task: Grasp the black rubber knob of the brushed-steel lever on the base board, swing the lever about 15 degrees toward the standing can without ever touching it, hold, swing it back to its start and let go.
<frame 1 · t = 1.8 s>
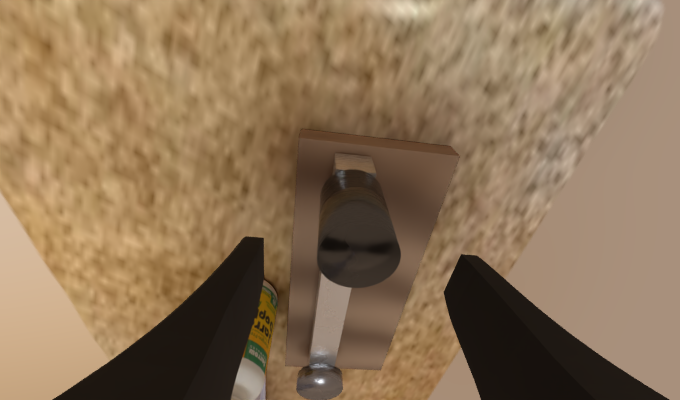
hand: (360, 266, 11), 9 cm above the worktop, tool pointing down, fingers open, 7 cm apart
base board: (350, 271, 23), on the worktop
supplement bottle: (247, 293, 24), on the worktop
lever: (332, 324, 18), point 5 cm above the worktop, hinge at 0.0°
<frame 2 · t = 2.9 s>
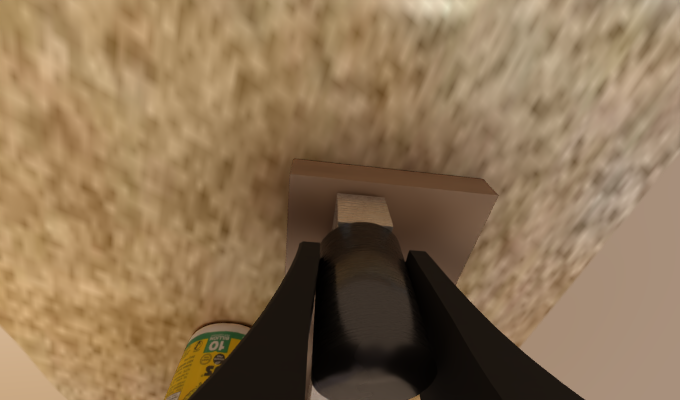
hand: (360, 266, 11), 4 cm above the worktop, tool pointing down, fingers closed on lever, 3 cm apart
base board: (354, 319, 19), on the worktop
supplement bottle: (232, 341, 21), on the worktop
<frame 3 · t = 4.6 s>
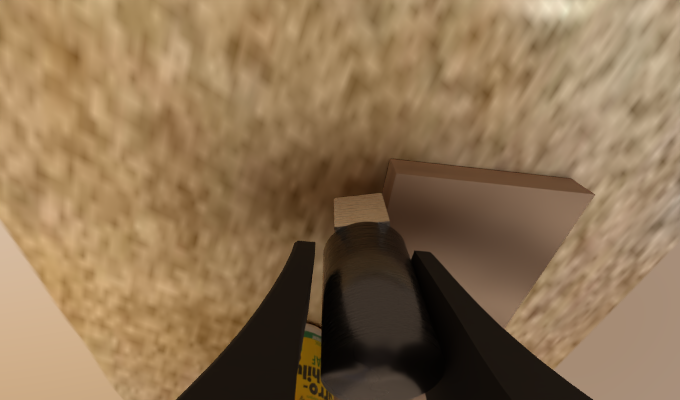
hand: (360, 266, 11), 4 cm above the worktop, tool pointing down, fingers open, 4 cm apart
base board: (420, 318, 20), on the worktop
supplement bottle: (295, 340, 21), on the worktop
lever: (379, 399, 15), point 5 cm above the worktop, hinge at 14.0°, touching gripper
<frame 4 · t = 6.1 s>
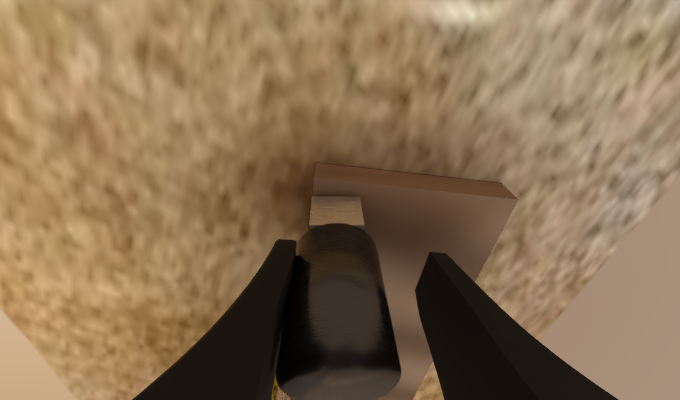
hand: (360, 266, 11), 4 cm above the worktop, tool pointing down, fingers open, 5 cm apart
base board: (368, 321, 20), on the worktop
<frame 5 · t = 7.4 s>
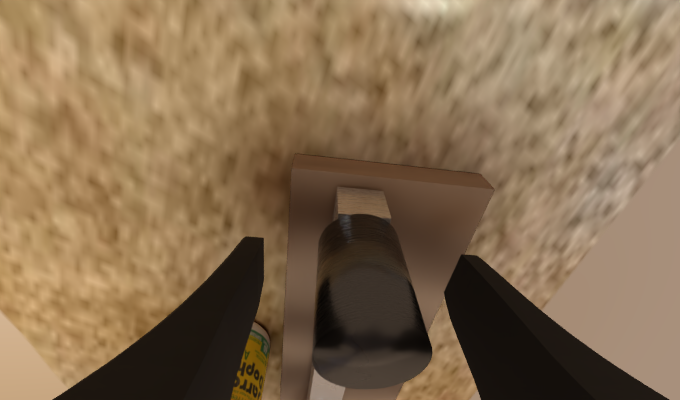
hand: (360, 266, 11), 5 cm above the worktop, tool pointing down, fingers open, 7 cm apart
base board: (354, 312, 20), on the worktop
supplement bottle: (234, 334, 21), on the worktop
lever: (333, 390, 15), point 5 cm above the worktop, hinge at 0.1°
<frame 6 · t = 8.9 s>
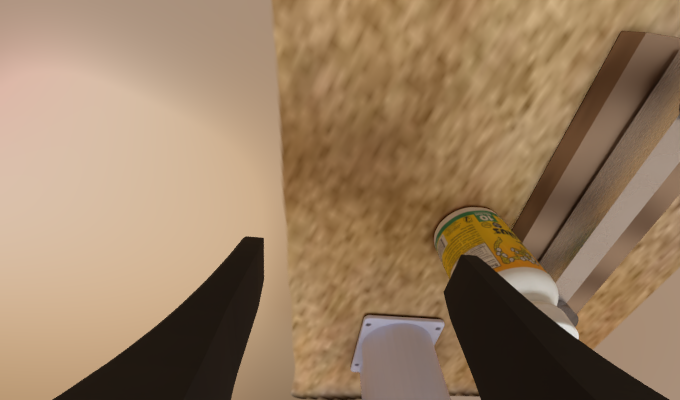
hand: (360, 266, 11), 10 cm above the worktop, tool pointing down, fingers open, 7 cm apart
base board: (584, 205, 22), on the worktop
supplement bottle: (465, 230, 24), on the worktop
lever: (626, 243, 18), point 5 cm above the worktop, hinge at 0.1°
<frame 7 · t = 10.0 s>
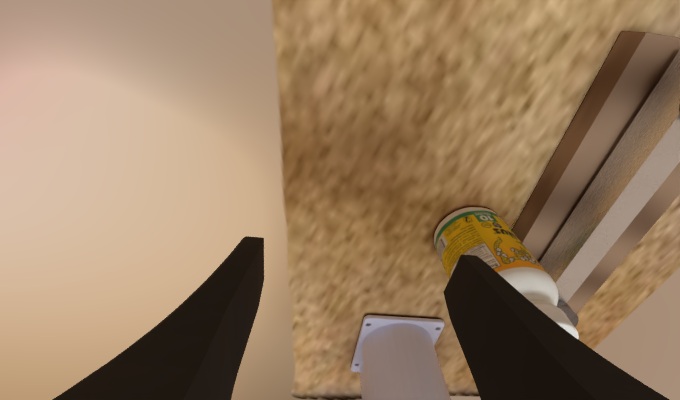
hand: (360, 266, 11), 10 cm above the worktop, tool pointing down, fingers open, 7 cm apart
base board: (584, 205, 22), on the worktop
supplement bottle: (465, 230, 24), on the worktop
lever: (626, 243, 18), point 5 cm above the worktop, hinge at 0.1°
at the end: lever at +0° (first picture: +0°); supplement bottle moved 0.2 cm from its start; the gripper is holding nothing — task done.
